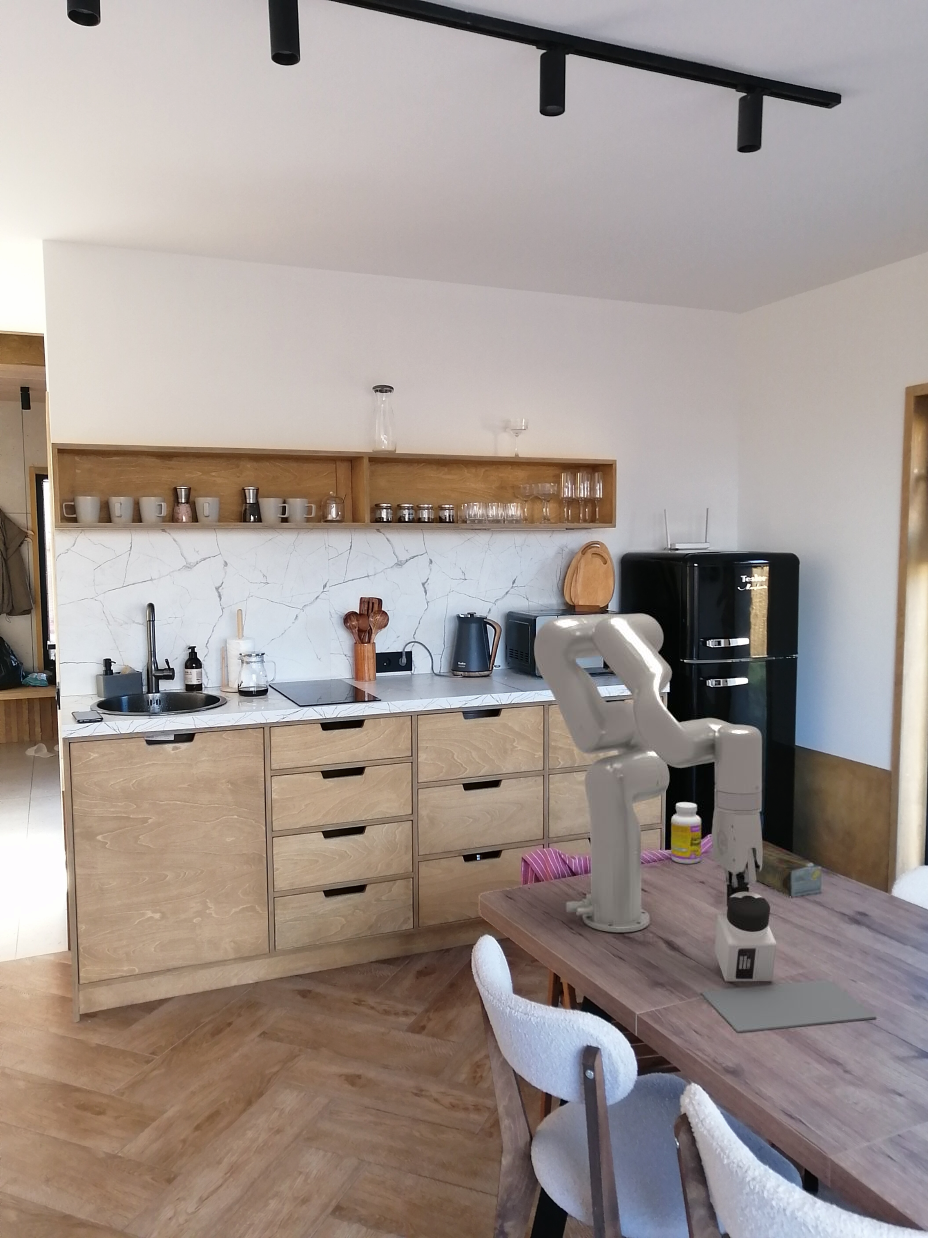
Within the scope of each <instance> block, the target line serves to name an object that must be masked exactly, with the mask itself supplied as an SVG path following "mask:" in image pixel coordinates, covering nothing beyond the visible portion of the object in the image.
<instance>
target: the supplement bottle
mask: <svg viewBox="0 0 928 1238" xmlns="http://www.w3.org/2000/svg"><path fill="white" fill-rule="evenodd" d="M675 810H676V813H675V814H673V816H671V821H670V824H671V827H670V829H671V830H670V831H671V833H670V835H671V837H670V841H671V842H670V845H671V846H670V847H671V848H670V855H671V856H670V858H671V859H672V861H674V862H676V863H679V864H686V865H687V864H688V865H689V864H690V865H691V864H697V863H699V862H700V861H701V859H702V858H701V857H702V818H701V817H700V816H699V815H697V814H696V813H697V811H698V805H697V804H696V803H694V802H687V801H683V802H682V801H681V802H677V803H676V804H675Z"/></svg>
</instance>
